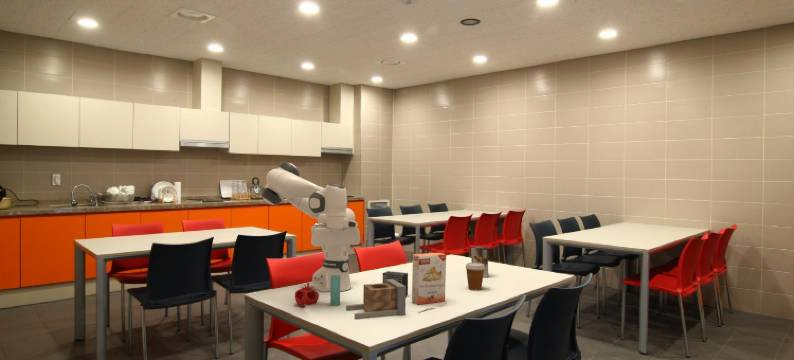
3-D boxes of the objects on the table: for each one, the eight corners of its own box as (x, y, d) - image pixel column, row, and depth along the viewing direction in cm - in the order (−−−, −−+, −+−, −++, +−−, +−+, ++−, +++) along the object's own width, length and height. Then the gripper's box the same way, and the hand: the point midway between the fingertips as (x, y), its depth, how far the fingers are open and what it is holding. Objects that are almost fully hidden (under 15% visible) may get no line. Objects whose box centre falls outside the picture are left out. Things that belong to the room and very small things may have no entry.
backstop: (342, 323, 179) (342, 291, 179) (333, 313, 192) (333, 283, 192) (405, 317, 188) (405, 286, 188) (392, 308, 201) (392, 279, 201)
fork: (402, 316, 191) (402, 311, 191) (441, 305, 208) (441, 301, 208) (408, 318, 189) (408, 313, 189) (447, 306, 206) (447, 302, 206)
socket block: (371, 316, 185) (371, 290, 185) (363, 309, 195) (363, 284, 194) (395, 313, 189) (395, 288, 189) (386, 307, 198) (387, 282, 198)
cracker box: (418, 305, 206) (418, 256, 206) (411, 301, 211) (411, 253, 211) (446, 301, 213) (446, 253, 212) (438, 298, 218) (439, 251, 218)
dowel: (328, 307, 201) (328, 275, 201) (335, 305, 204) (335, 274, 204) (335, 309, 199) (335, 277, 199) (342, 307, 202) (342, 275, 202)
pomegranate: (297, 302, 210) (297, 280, 210) (320, 302, 210) (320, 280, 210) (292, 307, 200) (292, 285, 200) (316, 308, 200) (316, 285, 200)
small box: (408, 295, 223) (408, 272, 223) (402, 298, 217) (403, 275, 217) (387, 292, 228) (388, 270, 228) (381, 295, 222) (381, 272, 222)
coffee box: (487, 275, 270) (488, 246, 270) (488, 277, 264) (488, 248, 263) (471, 274, 271) (471, 246, 271) (471, 277, 265) (471, 247, 265)
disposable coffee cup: (462, 289, 235) (463, 265, 235) (467, 285, 244) (468, 262, 244) (482, 291, 231) (482, 266, 231) (486, 287, 240) (486, 263, 240)
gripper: (312, 224, 195) (312, 258, 195) (361, 223, 202) (361, 256, 202) (309, 222, 200) (309, 256, 201) (357, 221, 208) (356, 253, 208)
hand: (335, 256), depth 201 cm, fingers open, 7 cm apart
